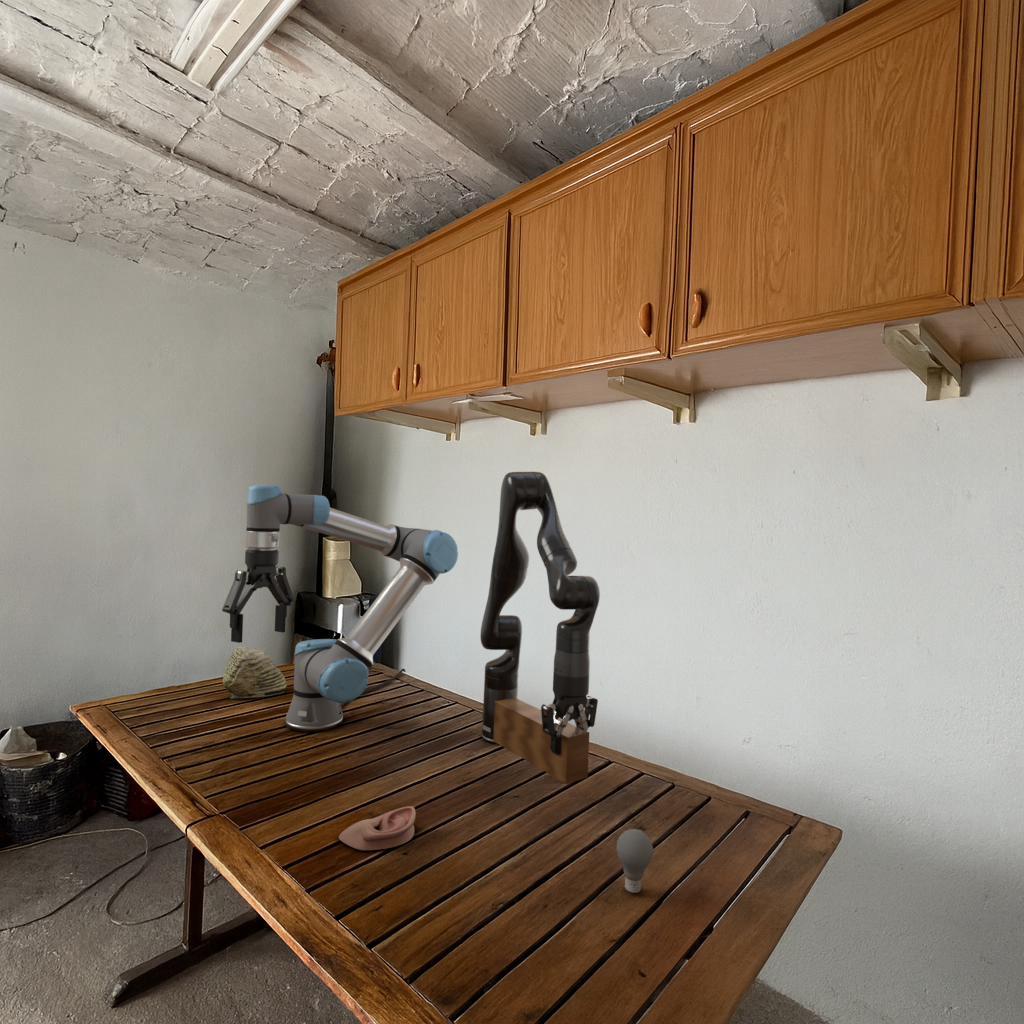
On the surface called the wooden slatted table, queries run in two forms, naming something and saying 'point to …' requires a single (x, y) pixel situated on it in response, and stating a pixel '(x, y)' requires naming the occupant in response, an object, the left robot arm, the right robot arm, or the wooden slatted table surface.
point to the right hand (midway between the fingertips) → (568, 750)
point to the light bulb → (634, 857)
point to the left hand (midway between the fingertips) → (259, 636)
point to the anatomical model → (381, 830)
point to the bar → (540, 740)
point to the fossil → (252, 674)
